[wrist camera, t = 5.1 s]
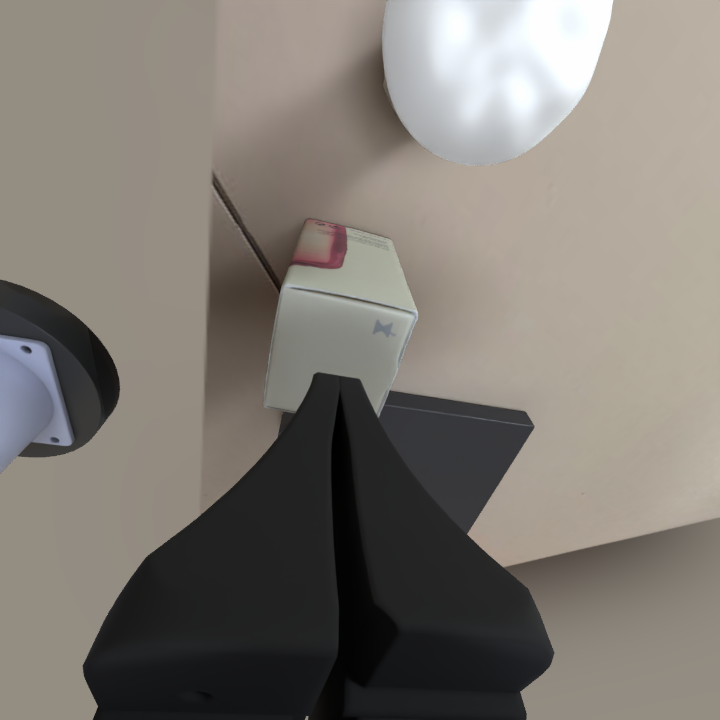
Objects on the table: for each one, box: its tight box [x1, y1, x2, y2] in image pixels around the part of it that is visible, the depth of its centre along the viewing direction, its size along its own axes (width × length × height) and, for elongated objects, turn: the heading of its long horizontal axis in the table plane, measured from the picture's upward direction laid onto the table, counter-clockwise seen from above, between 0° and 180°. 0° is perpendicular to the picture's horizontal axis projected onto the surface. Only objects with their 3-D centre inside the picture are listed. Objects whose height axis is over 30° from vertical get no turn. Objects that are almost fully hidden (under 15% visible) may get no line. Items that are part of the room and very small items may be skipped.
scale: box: [278, 391, 534, 534], centre depth 25 cm, size 15×13×3 cm
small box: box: [263, 219, 418, 417], centre depth 15 cm, size 5×4×8 cm
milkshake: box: [382, 0, 613, 166], centre depth 10 cm, size 5×5×10 cm
